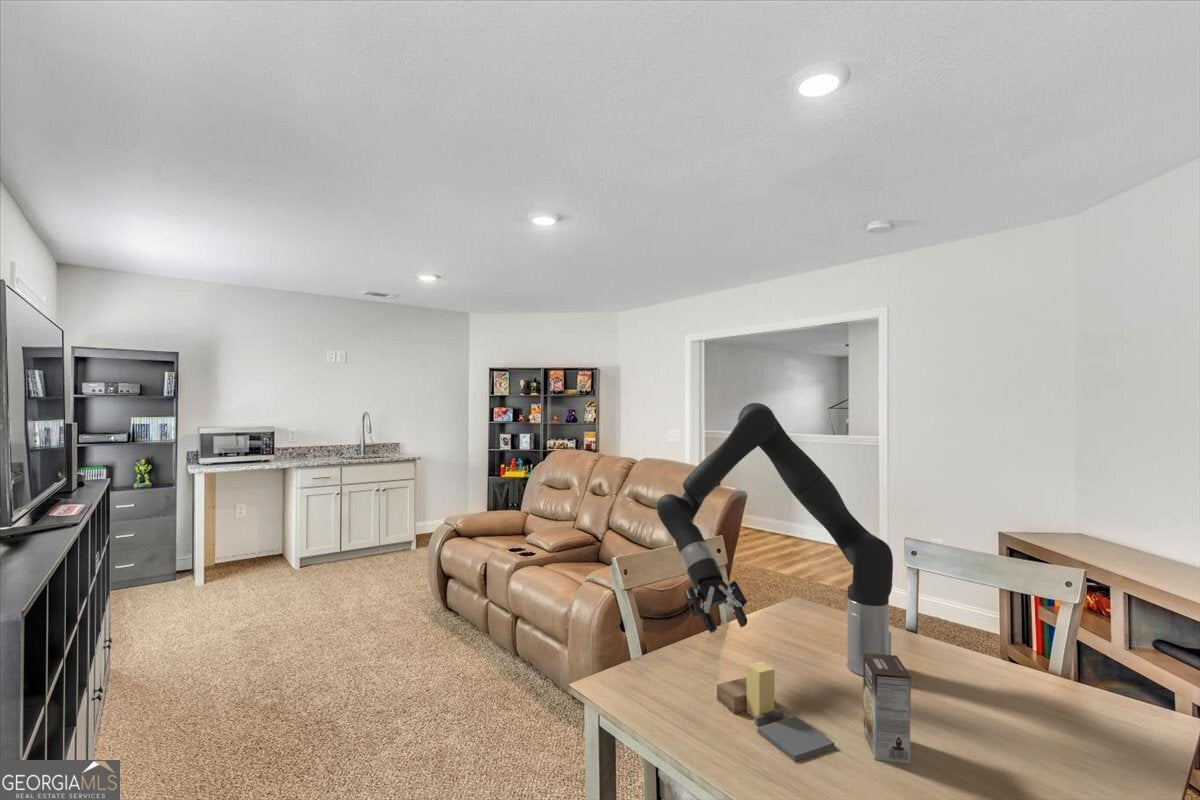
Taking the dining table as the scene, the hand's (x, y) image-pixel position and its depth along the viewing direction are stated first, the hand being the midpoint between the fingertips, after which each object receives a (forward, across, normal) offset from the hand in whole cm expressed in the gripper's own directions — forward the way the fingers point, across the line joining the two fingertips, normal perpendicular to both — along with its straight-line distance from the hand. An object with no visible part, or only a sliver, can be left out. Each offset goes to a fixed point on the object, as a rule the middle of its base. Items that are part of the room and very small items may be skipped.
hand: (729, 628), depth 128 cm
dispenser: (+16, 0, +4) cm, 16 cm away
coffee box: (+31, +14, -11) cm, 36 cm away
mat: (+24, 0, -4) cm, 25 cm away
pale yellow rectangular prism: (+18, 0, +3) cm, 18 cm away
